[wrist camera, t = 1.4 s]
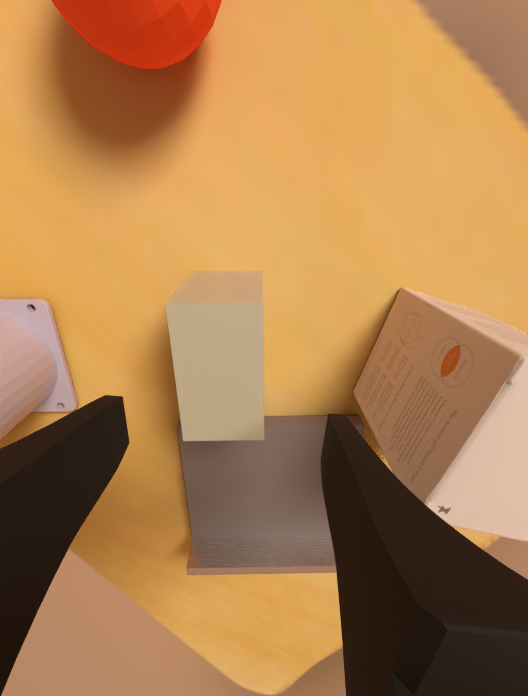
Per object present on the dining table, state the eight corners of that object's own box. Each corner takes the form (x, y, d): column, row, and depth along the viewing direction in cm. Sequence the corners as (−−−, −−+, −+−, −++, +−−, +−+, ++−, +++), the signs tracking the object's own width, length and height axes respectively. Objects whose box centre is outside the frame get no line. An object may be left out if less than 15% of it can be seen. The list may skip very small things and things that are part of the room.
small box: (420, 409, 24) (528, 548, 14) (349, 391, 23) (413, 523, 14) (479, 308, 21) (667, 397, 11) (400, 283, 20) (527, 356, 11)
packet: (204, 374, 23) (182, 441, 16) (194, 271, 20) (164, 303, 13) (262, 373, 23) (264, 440, 16) (262, 270, 20) (263, 302, 13)
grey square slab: (196, 532, 29) (187, 576, 25) (181, 417, 24) (167, 452, 21) (343, 530, 29) (354, 573, 26) (358, 415, 24) (375, 449, 21)
